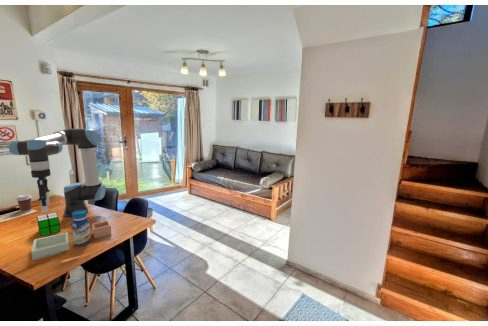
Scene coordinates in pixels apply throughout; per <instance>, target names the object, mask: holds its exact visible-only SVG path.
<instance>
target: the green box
mask: <svg viewBox="0 0 488 326" xmlns="http://www.w3.org/2000/svg"><path fill="white" fill-rule="evenodd" d="M68 233H69V232H62V233H59V234H58V233H57V234H53V235H49V236H45V237H44V236H43V237H40V238H35V239H34V240H33V242H32V247H31V258H32V261H37V260H41V259H45V258H49V257H52V256H57V255H59V254H63V252H65V251H69V250H70V246H69V245H70V239H69V234H68Z"/></svg>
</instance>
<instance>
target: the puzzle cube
mask: <svg viewBox="0 0 488 326" xmlns="http://www.w3.org/2000/svg"><path fill="white" fill-rule="evenodd" d="M36 221H37V227H38V233H39V236H40V237H44V236H47V235H51V234H54V233H55V234H56V233H59V232H61V225H60V218H59V215H58V213H57V212H52V213H48V214H42V215H37V216H36Z"/></svg>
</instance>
